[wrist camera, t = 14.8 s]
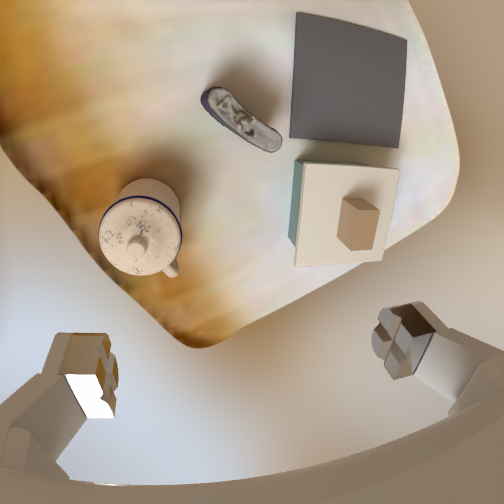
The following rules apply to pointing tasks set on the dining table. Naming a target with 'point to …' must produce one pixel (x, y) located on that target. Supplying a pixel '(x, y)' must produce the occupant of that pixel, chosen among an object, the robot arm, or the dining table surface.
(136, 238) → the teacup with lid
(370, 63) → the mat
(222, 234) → the dining table surface
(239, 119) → the flask
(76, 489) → the robot arm
